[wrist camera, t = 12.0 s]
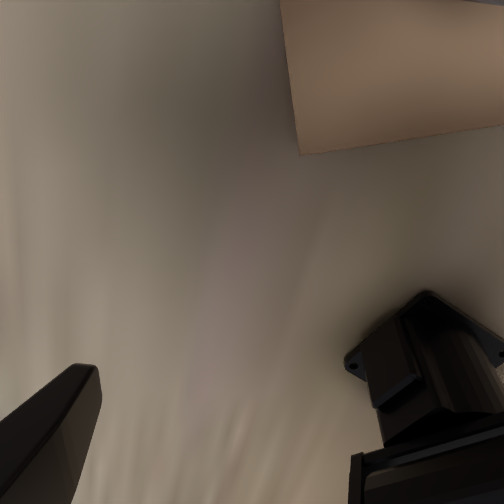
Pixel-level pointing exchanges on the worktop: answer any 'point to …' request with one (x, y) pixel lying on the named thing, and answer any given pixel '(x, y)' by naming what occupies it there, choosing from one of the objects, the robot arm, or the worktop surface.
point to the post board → (392, 69)
